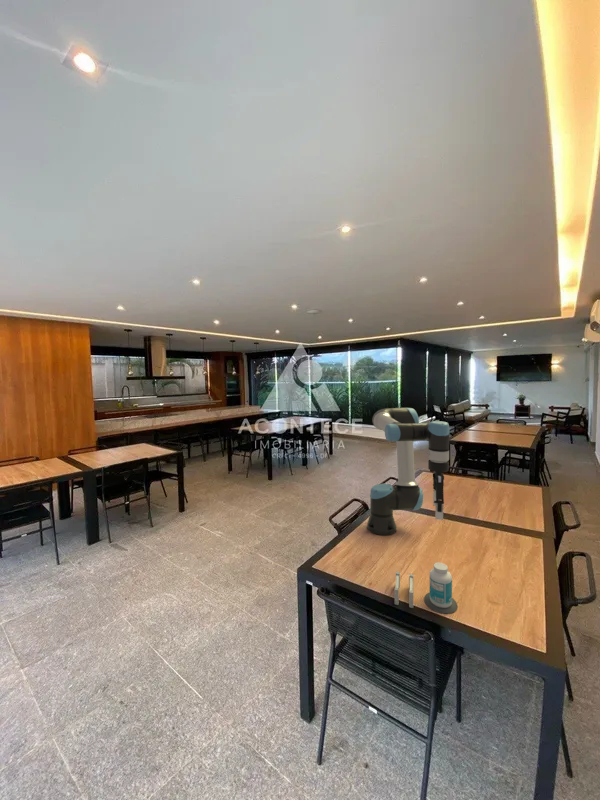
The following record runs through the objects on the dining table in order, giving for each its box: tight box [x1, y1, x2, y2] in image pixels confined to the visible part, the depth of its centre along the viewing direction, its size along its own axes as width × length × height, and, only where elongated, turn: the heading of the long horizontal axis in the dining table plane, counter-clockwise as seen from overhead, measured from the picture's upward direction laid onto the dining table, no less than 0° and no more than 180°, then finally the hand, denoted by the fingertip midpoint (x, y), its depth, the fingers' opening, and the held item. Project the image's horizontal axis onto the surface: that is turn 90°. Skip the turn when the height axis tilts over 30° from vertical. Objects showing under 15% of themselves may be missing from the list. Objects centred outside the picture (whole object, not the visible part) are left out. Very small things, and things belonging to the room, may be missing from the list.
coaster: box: [423, 591, 458, 615], centre depth 118 cm, size 11×11×1 cm
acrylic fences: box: [394, 570, 414, 609], centre depth 122 cm, size 11×6×6 cm, turn 161°
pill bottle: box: [429, 562, 453, 608], centre depth 118 cm, size 8×7×14 cm
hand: (437, 512), depth 132 cm, fingers open, 13 cm apart
